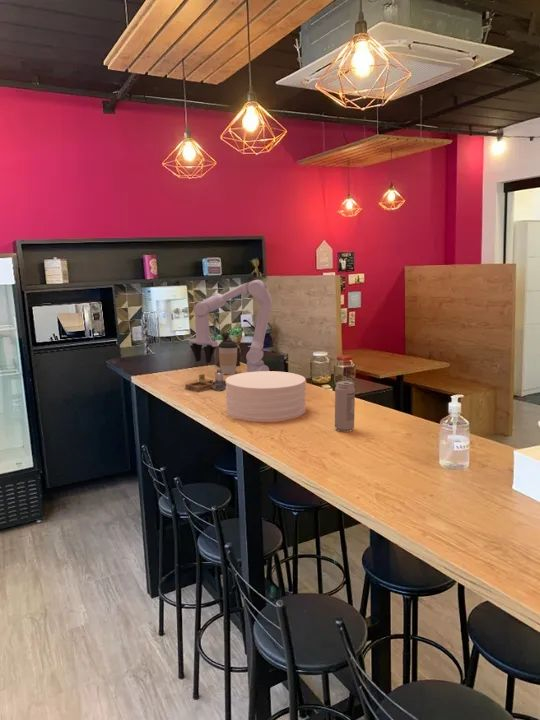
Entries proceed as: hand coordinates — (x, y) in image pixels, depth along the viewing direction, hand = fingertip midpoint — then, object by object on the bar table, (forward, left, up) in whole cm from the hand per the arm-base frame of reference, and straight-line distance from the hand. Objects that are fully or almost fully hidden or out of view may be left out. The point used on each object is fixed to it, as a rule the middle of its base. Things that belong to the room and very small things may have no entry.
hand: (203, 361), depth 239 cm
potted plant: (+21, -34, -10) cm, 41 cm away
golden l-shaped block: (-1, 0, -9) cm, 9 cm away
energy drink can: (-84, +13, -10) cm, 86 cm away
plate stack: (-50, +13, -10) cm, 53 cm away
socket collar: (-10, 0, -9) cm, 14 cm away
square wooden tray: (-7, +8, -9) cm, 14 cm away
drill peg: (-10, 0, -9) cm, 14 cm away
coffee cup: (+8, -21, -10) cm, 25 cm away
